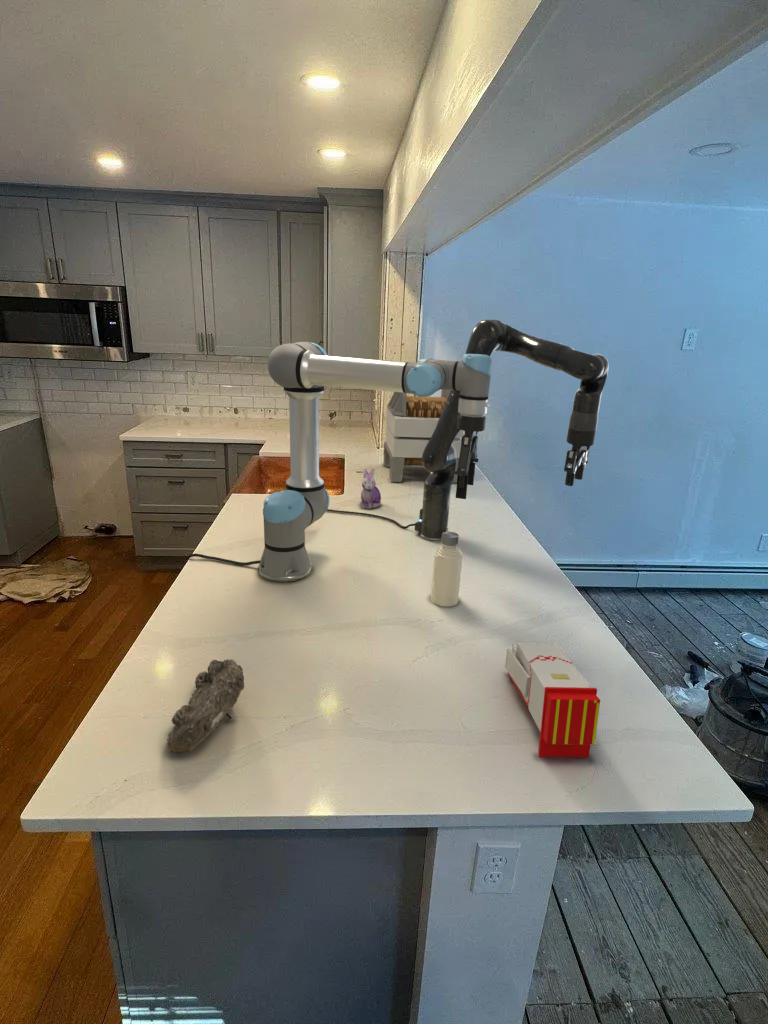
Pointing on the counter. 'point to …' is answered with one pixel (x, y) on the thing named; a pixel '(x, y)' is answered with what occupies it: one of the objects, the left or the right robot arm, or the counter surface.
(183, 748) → the fossil
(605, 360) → the right robot arm
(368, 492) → the figurine
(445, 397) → the transformer
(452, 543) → the cap
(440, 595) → the ribbed frosted cylinder
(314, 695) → the counter surface
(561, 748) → the toy
